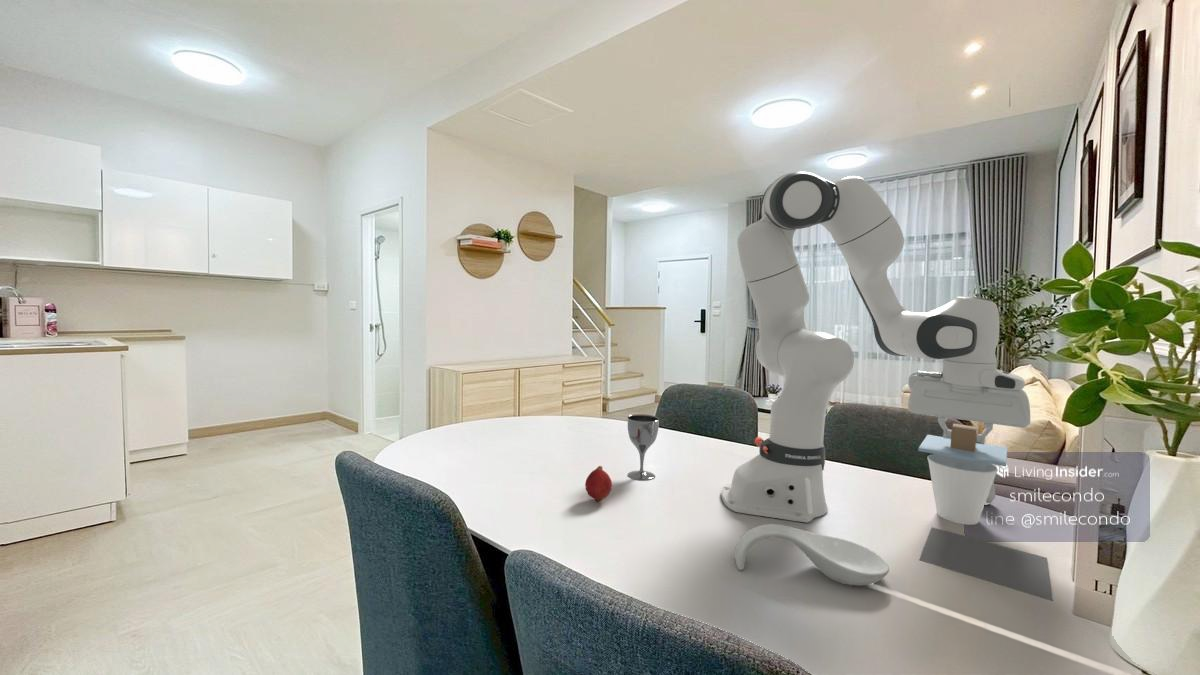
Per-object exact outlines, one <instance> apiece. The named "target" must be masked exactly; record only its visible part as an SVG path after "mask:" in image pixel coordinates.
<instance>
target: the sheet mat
mask: <svg viewBox="0 0 1200 675" xmlns="http://www.w3.org/2000/svg"><path fill="white" fill-rule="evenodd" d="M918 560H919V561H921V562H924V563H927V564H931V565H934V566H937V567H941V568H944V569H947V570H950V571H953V572H957V573H960V574H964V575H966V576H970V577H973V578H976V579H980V580H982V581H986V582H990V583H992V584H996V585H999V586H1002V587H1005V588H1008V589H1013V590H1016V591H1018V592H1023V593H1025V594H1029V595H1032V596H1035V597H1039V598H1042V599H1044V600H1049V601H1052V602H1053V601H1054V598H1053V590H1052V583H1051V578H1050V568H1049V563H1048V557H1045V556H1042V555H1038V554H1034V553H1031V552H1026V551H1023V550H1020V549H1015V548H1012V547H1007V546H1005V545H1000V544H996V543H993V542H988V541H985V540H982V539H977V538H975V537H970V536H967V535H962V534H958V533H955V532H951V531H947V530H943V529H940V528H936V527H931V528H930V530H929V533H928V535H927V539H926V541H925V543H924V546H923V549H922V550H921V555H920V557H919V558H918Z"/></svg>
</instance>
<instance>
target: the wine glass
mask: <svg viewBox="0 0 1200 675" xmlns="http://www.w3.org/2000/svg"><path fill="white" fill-rule="evenodd" d="M659 425H660V418H659V417H658V416H656V415H651V414H644V413H641V414H640V413H639V414H630V415H628V416H627V433H628V438H629V440H630V442H631V443H632V445H634V447H635V448H636V449H637V452H638V454H639V462H640V463H639V467H640V468H639V469H638V470H632V471H630V472H627V477H628V478H630V479H632V480H636V481H640V482H641V481H644V482H645V481H646V482H647V481H651V480H654V479H655V478H656V474H654V473H653V472H651V471H647V470H644V462H645V461H644V460H645V456H646V453H647V451H648V449H649V448H651V446H652V445H653V444H654V443H655V441H656V440H657V438H658V434H659V427H660V426H659Z"/></svg>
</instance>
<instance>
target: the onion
mask: <svg viewBox="0 0 1200 675" xmlns="http://www.w3.org/2000/svg"><path fill="white" fill-rule="evenodd" d="M612 481H613V480H612V479H611V477H610V475H609V474H608V473H607V472H606V471H604V469H603V466H602V465H599V466H597V467H596V468H595V469H594V470H592V471H591V472H590V473H589V474H588V476H587V477H586V480H585V484H584V487H585V491H586V493H587V495H588V496H589V497H590V498H592V499H593V500H595V501H596V502H599V503H600V502H601V501H602V500H604V499H606V497H607V496H608V495H610V492H612V491H611V490H612V488H613V484H612V483H613V482H612Z"/></svg>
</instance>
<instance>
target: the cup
mask: <svg viewBox="0 0 1200 675" xmlns="http://www.w3.org/2000/svg"><path fill="white" fill-rule="evenodd" d="M926 458H927V461H928V467H929V473H930V479H931V485H932V492H933V498H934V503H935V509H936V514H937V515H938V516H939V517H941V518H942V519H945V520H947V521H949V522H952V523H956V524H959V525H968V526H970V525H972V526H973V525H977V524H978V523H979V521H980V519H981V515H982V512H983V511H984V507H985V506H984V505H985V502H986V500H987V497H988V494H989V491H990V489H991V486H992V483H993V481H995V479H996V478H995V477H996V475H997V472H998V471H999V470H998V467H997V466H996V465H994V464H989V463H983V462H978V461H972V460H967V459H961V458H955V457H950V456H944V455H939V454H933V453H931V454H930V455H928V456H927V457H926Z"/></svg>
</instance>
